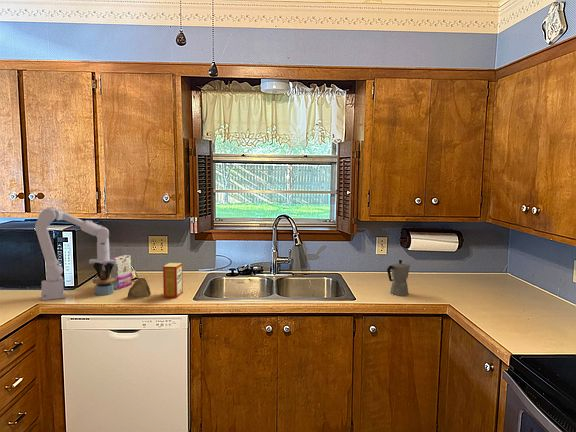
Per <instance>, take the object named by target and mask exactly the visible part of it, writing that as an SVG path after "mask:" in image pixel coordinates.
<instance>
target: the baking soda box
mask: <svg viewBox="0 0 576 432" xmlns="http://www.w3.org/2000/svg"><path fill="white" fill-rule="evenodd" d="M162 268H163V269H162V270H163V271H162V278H163V281H162V283H163V285H162V287H163V298H164V299H177V298H178V297H180V296H181V295H182V294H184V293H183V290H184V289H183V285H184V284H183V263H182V262H168V263H165V265H163V266H162Z"/></svg>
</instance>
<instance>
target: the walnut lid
mask: <svg viewBox="0 0 576 432" xmlns="http://www.w3.org/2000/svg"><path fill="white" fill-rule="evenodd" d="M113 282H115V278H113V277H111V276H110V278H106V270H105V269H102V271H100V278H98V277H97V278H93V279H92V283H93V284H94V285H96V284H108V283H113Z"/></svg>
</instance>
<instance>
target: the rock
mask: <svg viewBox="0 0 576 432" xmlns="http://www.w3.org/2000/svg"><path fill="white" fill-rule="evenodd" d="M148 283H149V282H148V281H147V280H146V278H145V277H139V278H138V279H136V280H135V281H134V283H132V286H131V287H129V290H128V293H127V297H126V298H127V299H133V298H144V297H149V296H151V295H152V293H151V290H150V286H149V284H148Z"/></svg>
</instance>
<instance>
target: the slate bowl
mask: <svg viewBox="0 0 576 432" xmlns="http://www.w3.org/2000/svg"><path fill="white" fill-rule="evenodd" d="M114 290H115V289H114V284H113V283H108V284H94V294H95V296H100V297H101V296H103V297H104V296H109V295H113V294H114Z"/></svg>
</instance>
